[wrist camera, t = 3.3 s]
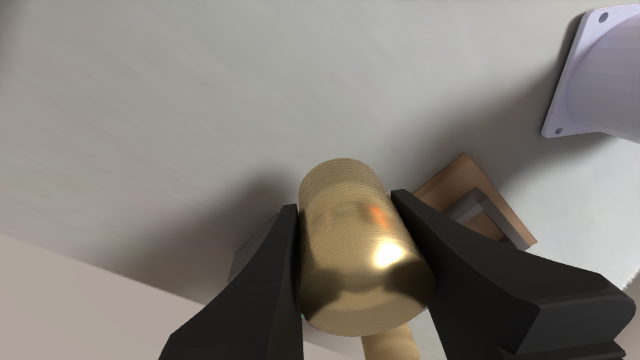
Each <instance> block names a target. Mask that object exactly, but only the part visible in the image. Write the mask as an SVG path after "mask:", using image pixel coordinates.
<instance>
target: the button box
mask: <svg viewBox="0 0 640 360" xmlns="http://www.w3.org/2000/svg"><path fill="white" fill-rule="evenodd" d="M277 216H278V213H277V214H276V215H275V216H274V217H273V218H272V219H271V220H270V221H269V222H268V223H267V224H266V225H264V226H263V227H262V228H261V229H260V230H259V231H258V232H257V233H256V234H255V235H254V236H253V237H252V238H251V239H250V240H249V241H248V242H247V243H246V244H245V245H244V246H243V247H242V248H241V249H240V250H239V251H238V252H237V253H235V257H234V260H233V264H232V267H231V271H230V274H229V278H228V281H227V282H228V283H230V282H231V281H232V280H233V279H234V278H235V277H236V276H237V275H238V274H239V272H240V271H241V270H242V269H243V268H244V267H245V265H246V264H247V263H248V262H249V260H250V259H251V258H252V256H253V255H254V254H255V252H256V251H257V250H258V248H259V247H260V245H261V244H262V242H263V241H264V239H265V238H266V236H267V234H268V232H269V231H270V229H271V227H272V226H273V224H274V222H275V220H276V218H277Z"/></svg>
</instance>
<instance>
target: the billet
mask: <svg viewBox="0 0 640 360" xmlns="http://www.w3.org/2000/svg"><path fill="white" fill-rule="evenodd" d="M434 290H435V278H434V275H433V272H432V271H431V269H430V267H429V265H428V264H427V262H426V260H425V258H424V257H423V255H422V253H421V251H420V250H419V248H418V246H417V244H416V243H415V241H414V239H413V237H412V236H411V234H410V232H409V230H408V229H407V227H406V225H405V223H404V222H403V220H402V218H401V216H400V215H399V213H398V211H397V210H396V208H395V206H394V204H393V203H392V201H391V199H390V197H389V196H388V194H387V192H386V190H385V189H384V187H383V185H382V183H381V182H380V180H379V178H378V176H377V175H376V173H375V172H374V171H373V169H371V168H370V167H369V166H368V165H366V164H365V163H363V162H360V161H358V160H354V159H349V158H339V159H333V160H329V161H326V162H324V163H321V164H319V165H318V166H316V167H315V168H313V169H312V170H311V171H310V172H309V173H308V174H307V175H306V177H305V178H304V180H303V181H302V183H301V186H300V189H299V305H300V310H301V313H302V315H303V316H304V318H305V319H306V320H307V321H308V322H309V323H310V324H311V325H312V326H314V327H316V328H317V329H319V330H321V331H324V332H326V333H330V334H334V335H339V336H350V337H356V336H368V335H374V334H379V333H383V332H386V331H389V330H392V329H394V328H397V327H399V326H401V325H403V324H405V323H407V322H408V321H410V320H411V319H413V318H414V317H416V316H417V315H418V314H419V313H420V312H421V311H422V310H423V309H424V308H425V307H426V306H427V305H428V303H429V302H430V300H431V298H432V296H433V293H434Z"/></svg>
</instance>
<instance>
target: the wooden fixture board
mask: <svg viewBox="0 0 640 360" xmlns="http://www.w3.org/2000/svg"><path fill="white" fill-rule="evenodd" d="M412 195H414V196H415V197H417V198H418V199H420V200H421V201H423V202H425V203H426V204H428V205H429V206H431V207H432V208H434V209H435V210H437V211H439V212H440V213H442V214H444V215H445V216H447V217H449V218H451V219H452V220H454V221H456V222H458V223H460V224H462V225H463V226H465V227H467V228H469V229H471V230H474V231H476V232H478V233H480V234H482V235H484V236H486V237H489V238H491V239H493V240H496V241H498V242H501V243H503V244H506V245H508V246H511V247H514V248H516V249H519V250H522V251H525V250H527V249H528V248H530V246H532V245H533V244H535V243H537V240H536V239H535V238H534V237H533V235H532V234H531V233H530V232H529V230H528V229H527V228H526V226H525V225H524V224H523V223H522V221H521V220H520V219H519V218H518V216H517V215H516V214H515V213H514V211H513V210H512V209H511V208H510V206H509V205H508V204H507V203H506V201H505V200H504V199H503V197H502V196H501V195H500V194H499V192H498V191H497V190H496V189H495V187H494V186H493V185H492V184H491V182H490V181H489V180H488V179H487V177H486V176H485V175H484V173H483V172H482V171H481V170H480V168H479V167H478V166H477V165H476V163H475V162H474V161H473V160H472V159H471V158H470V157H469V156H467V155H466V154H463V155H461V156H460V157H459V158H457V159H456V160H455V161H454V162H452V163H451V164H450V165H449V166H447V167H446V168H445V169H444V170H442V171H441V172H440V173H439V174H437V175H436V176H435V177H433V178H432V179H431V180H430V181H428V182H427V183H426V184H425V185H423V186H422V187H421V188H420V189H418V190H417V191H416V192H414V193H413V194H412ZM426 309H428V307H427V306H426V307H425V308H424V309H423V310H422V311H421V312H423V311H425V310H426ZM421 312H420V313H421ZM420 313H419V314H420ZM361 340H362V345H363V350H364V354H365V359H366V360H420V354H419V352H418V349H417V347H416V344H415V341H414V339H413V336H412V334H411V331H410V329H409V326H408V323H405V324H403V325H401V326H399V327H397V328H394V329H392V330H389V331H386V332H383V333H379V334H374V335H368V336H361Z"/></svg>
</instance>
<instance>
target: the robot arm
mask: <svg viewBox="0 0 640 360" xmlns="http://www.w3.org/2000/svg"><path fill="white" fill-rule="evenodd" d="M600 16H601V18H600ZM599 18H600V20H599ZM599 131H600V132H603V133H606V134H609V135H613V136H616V137H619V138H622V139H625V140H629V141H632V142H635V143H638V144H640V3H636V4H629V5H621V6H613V7H605V8H597V9H592V10H589V11H588V12H586V13H585V15H584V16H583V17H582V19H581V22H580V25H579V27H578V30H577V33H576V36H575V39H574V41H573V44H572V47H571V50H570V53H569V55H568V58H567V61H566V64H565V67H564V69H563V72H562V75H561V78H560V81H559V83H558V86H557V89H556V92H555V95H554V98H553V100H552V103H551V106H550V109H549V112H548V114H547V117H546V120H545V123H544V126H543V128H542V131H541V135H542V136H543V137H545V138H555V137H562V136H569V135H577V134H584V133H591V132H599ZM391 201H392V203H393V204H394V206H395V208H396V210H397V211H398V213H399V215H400V216H401V218H402V220H403V222H404V223H405V225H406V227H407V229H408V230H409V232H410V234H411V236H412V237H413V239H414V241H415V243H416V244H417V246H418V248H419V250H420V251H421V253H422V255H423V257H424V258H425V260H426V262H427V264H428V265H429V267H430V269H431V271H432V272H433V275H434V278H435V290H434V293H433V296H432V298H431V300H430V302H429V303H428V305H427V307H428V309H429V312H430V314H431V317H432V319H433V322H434V325H435V327H436V330H437V333H438V335H439V338H440V341H441V343H442V346H443V349H444V352H445V355H446V357H447V360H623V359H622V357H624V356H625V355H626V353H625V351H624V350H623V349H622V348H621V347H620V346H619V345H618V344H617V343H616V342H615V341H614V339H615V337H616V336H617V335H618V334H619V333H620V332H621V331H622V330H623V329H624V328H625V327H626V325H627V324H628V323H629V322H630V321H631V320H632V318H633V317H634V315H635V311H636V305H635V302H634V300H632V299H631V298H630V297H629V296H627V295H626V294H625V293H624V292H622V291H621V290H620V289H619V288H617V287H616V286H615V285H614V284H612V283H611V282H610V281H608V280H607V279H606V278H605V277H603V276H602V275H601V274H599V273H595V272H592V271H588V270H584V269H581V268H577V267H573V266H570V265H566V264H562V263H559V262H555V261H552V260H549V259H546V258H543V257H540V256H536V255H533V254H530V253H527V252H525V251H522V250H519V249H516V248H514V247H511V246H508V245H506V244H503V243H501V242H498V241H496V240H493V239H491V238H489V237H486V236H484V235H482V234H480V233H478V232H476V231H474V230H471V229H469V228H467V227H465V226H463V225H462V224H460V223H458V222H456V221H454V220H452V219H451V218H449V217H447V216H445V215H444V214H442V213H440V212H439V211H437V210H435V209H434V208H432V207H431V206H429V205H428V204H426V203H425V202H423V201H421V200H420V199H418V198H417V197H415V196H414V195H412V194H411V193H409V192H408V191H406V190H404V189H401V190H394V191H391ZM158 360H304V355H303V334H302V313H301V310H300V305H299V215H298V210H297V205H296V204H291V205H284V206H283V207H282V208H281V210H280V212H279V214H278V216H277V218H276V220H275V222H274V224H273V226H272V227H271V229H270V231H269V232H268V234H267V236H266V238H265V239H264V241H263V242H262V244H261V245H260V247H259V248H258V250H257V251H256V252H255V254H254V255H253V256H252V258H251V259H250V260H249V262H248V263H247V264H246V265H245V267H244V268H243V269H242V270H241V271H240V272H239V274H238V275H237V276H236V277H235V278H234V279H233V280H232V281H231V282H230V283H229V285H228V286H227V287H226V288H225V289H224V290H223V291H222V292H221V293H220V294H218V295H217V296H216V297H215V298H214V299H213V300H212V301H211V302H210V303H209V304H208V305H206V306H205V307H204V308H203V309H202V310H201V311H200V312H198V313H197V314H196V315H195V316H193V317H192V318H191V319H190V320H189V321H187V322H186V323H185V324H184V325H182V326H181V327H180V328H179V329H177V330H176V331H175V332H174V333H172V334H171V335H170V337H169V339H168V341H167V343H166V344H165V346H164V348H163V350H162V352H161V355H160V357H159V359H158Z"/></svg>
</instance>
